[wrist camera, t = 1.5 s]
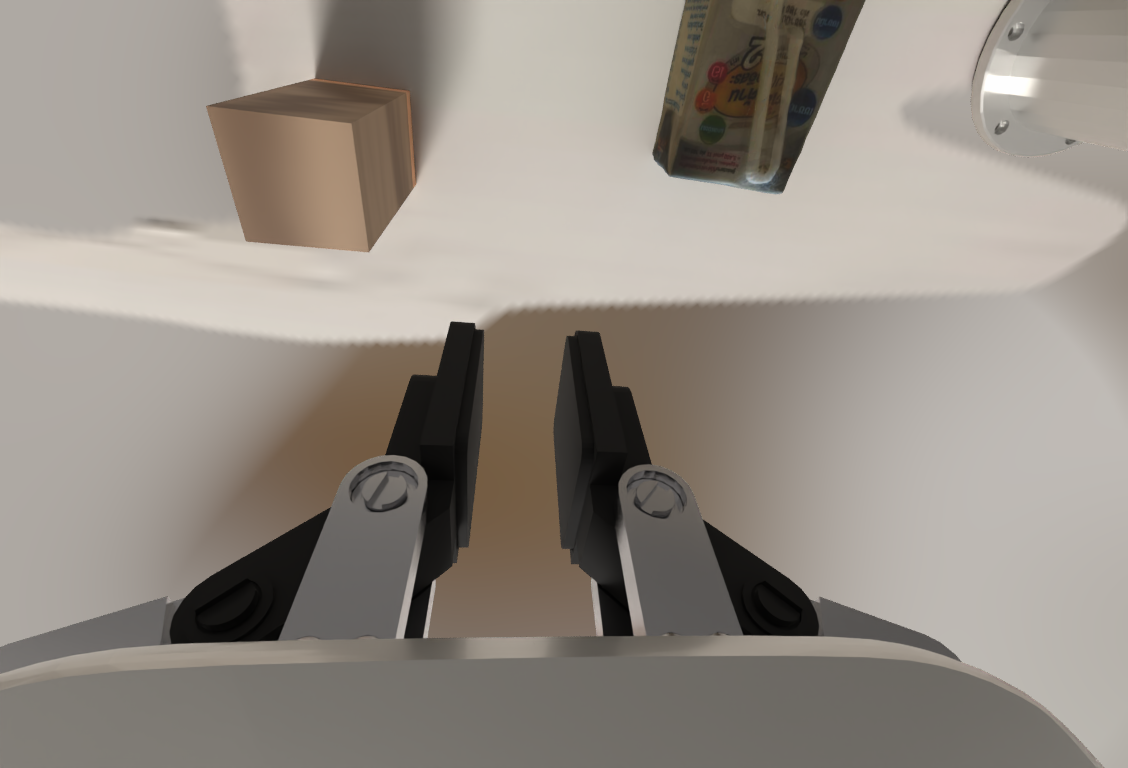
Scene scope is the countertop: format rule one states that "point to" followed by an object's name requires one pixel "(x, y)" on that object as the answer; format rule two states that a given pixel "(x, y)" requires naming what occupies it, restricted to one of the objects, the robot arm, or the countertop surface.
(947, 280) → the countertop surface
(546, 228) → the countertop surface
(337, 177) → the wooden block
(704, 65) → the beverage carton
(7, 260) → the countertop surface
